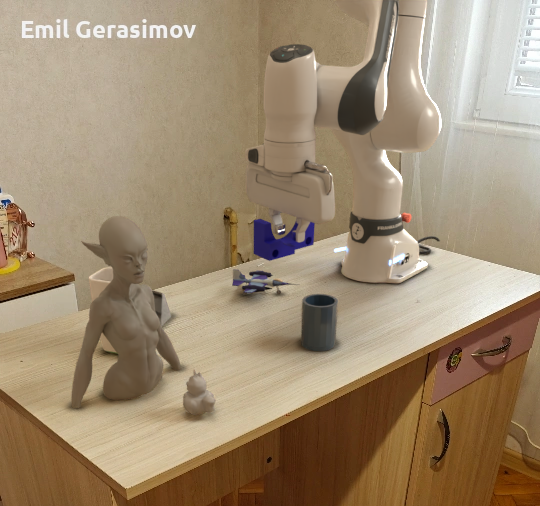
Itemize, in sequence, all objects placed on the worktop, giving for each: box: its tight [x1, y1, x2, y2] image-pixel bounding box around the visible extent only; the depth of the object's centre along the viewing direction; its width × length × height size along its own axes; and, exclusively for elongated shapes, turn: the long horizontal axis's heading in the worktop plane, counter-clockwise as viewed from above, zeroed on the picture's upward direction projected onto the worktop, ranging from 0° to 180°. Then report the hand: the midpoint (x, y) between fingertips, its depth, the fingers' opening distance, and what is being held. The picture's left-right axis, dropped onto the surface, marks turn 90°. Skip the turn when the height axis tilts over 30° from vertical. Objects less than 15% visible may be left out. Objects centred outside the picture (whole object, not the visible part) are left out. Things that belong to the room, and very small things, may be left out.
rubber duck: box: [182, 368, 217, 416], centre depth 118 cm, size 5×7×8 cm
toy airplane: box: [231, 269, 299, 296], centre depth 164 cm, size 13×14×4 cm
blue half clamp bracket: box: [253, 218, 315, 262], centre depth 130 cm, size 12×4×6 cm, turn 130°
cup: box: [88, 266, 118, 355], centre depth 136 cm, size 7×7×15 cm
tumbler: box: [300, 293, 339, 352], centre depth 140 cm, size 7×7×9 cm
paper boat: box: [151, 289, 173, 327], centre depth 151 cm, size 12×6×9 cm
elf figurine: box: [70, 215, 182, 409], centre depth 118 cm, size 23×10×30 cm, turn 133°
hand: (288, 237), depth 131 cm, fingers closed on blue half clamp bracket, 4 cm apart
